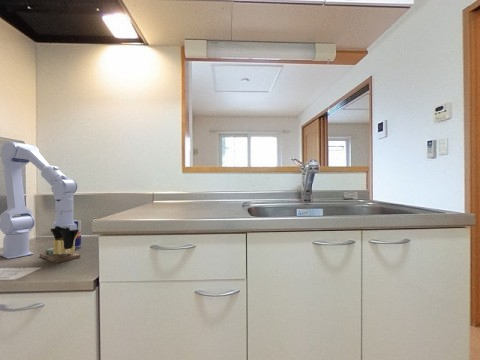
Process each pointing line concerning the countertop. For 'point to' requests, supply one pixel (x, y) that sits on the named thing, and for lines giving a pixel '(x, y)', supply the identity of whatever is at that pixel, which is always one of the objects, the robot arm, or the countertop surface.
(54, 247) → the brass gear
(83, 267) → the countertop surface
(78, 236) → the energy drink
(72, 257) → the gear board
